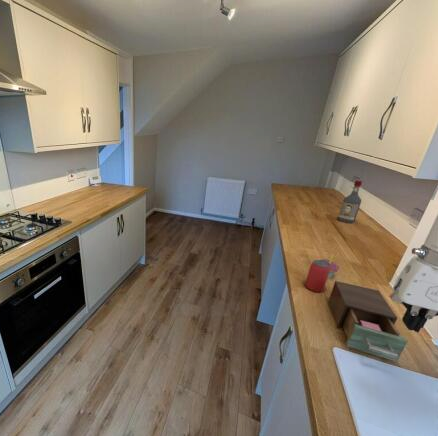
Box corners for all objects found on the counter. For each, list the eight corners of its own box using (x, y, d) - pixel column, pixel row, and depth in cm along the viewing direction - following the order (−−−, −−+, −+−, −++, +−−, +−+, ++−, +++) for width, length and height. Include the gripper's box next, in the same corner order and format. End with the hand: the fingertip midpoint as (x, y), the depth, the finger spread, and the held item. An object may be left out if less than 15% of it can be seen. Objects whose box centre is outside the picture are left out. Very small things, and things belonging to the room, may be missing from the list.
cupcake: (339, 281, 104) (348, 257, 100) (318, 278, 106) (325, 255, 102) (330, 270, 112) (337, 248, 108) (310, 268, 114) (317, 246, 110)
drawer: (404, 374, 63) (416, 353, 61) (351, 357, 68) (360, 337, 65) (378, 328, 78) (387, 309, 76) (336, 317, 83) (343, 298, 80)
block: (373, 335, 74) (378, 324, 73) (378, 346, 70) (384, 335, 69) (355, 330, 76) (360, 320, 74) (360, 340, 72) (364, 329, 71)
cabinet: (385, 341, 74) (397, 317, 71) (337, 327, 80) (345, 304, 76) (369, 312, 87) (378, 290, 83) (328, 301, 92) (335, 280, 89)
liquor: (340, 217, 182) (352, 179, 172) (354, 221, 176) (368, 181, 165) (336, 220, 177) (348, 180, 166) (351, 224, 170) (365, 183, 160)
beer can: (304, 281, 104) (311, 257, 100) (322, 286, 101) (330, 261, 97) (304, 289, 99) (312, 264, 95) (323, 294, 96) (332, 269, 91)
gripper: (406, 258, 49) (374, 326, 56) (517, 278, 43) (467, 352, 49) (391, 243, 55) (364, 306, 62) (485, 259, 49) (445, 327, 56)
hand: (410, 326), depth 56 cm, fingers closed
